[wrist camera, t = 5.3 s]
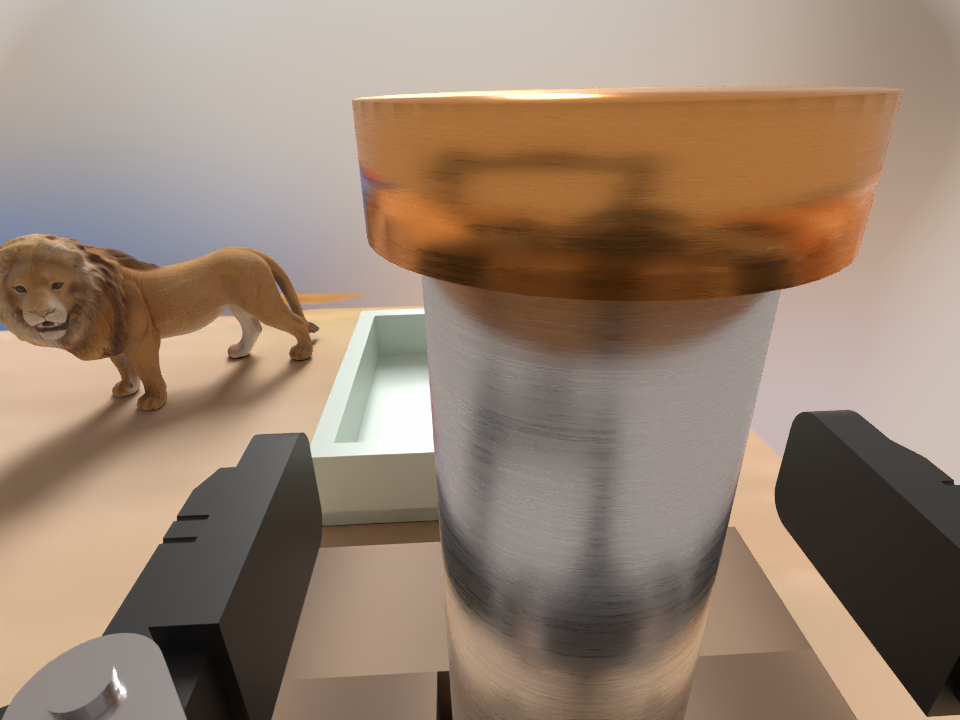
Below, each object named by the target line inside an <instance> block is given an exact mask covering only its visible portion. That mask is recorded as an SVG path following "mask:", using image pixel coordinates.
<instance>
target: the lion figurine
mask: <svg viewBox="0 0 960 720" xmlns="http://www.w3.org/2000/svg"><path fill="white" fill-rule="evenodd" d="M275 280H276V282H277V283H278V285H279V287H280V289H281V291H282V292H283V294H284V296H285V298H286V300H287V302H288V303H289V305H290V308H291V310H292V311H291V310H290V309H289V308H288V307H287V305H286V304H285V303H284V302H283V300H282V298H281V296H280V294H279V292H278V289H277V286H276V282H275ZM227 308H229V309H230V310H231V312H232V313H233V314H234V316H235V317H236V318H237V320H238V321H239V322H240V324H241V326H242V331H243V335H242V339H241V341H240V342H239V343H238V344H235V345H232V346H230V347H229V349H228V355H229V356H230V357H232V358H237V357H242V356H245V355H247V354H249V352H250V351H251V349H252V347H253V345H254V343H255V342H256V340H257V338H258V336H259V334H260V333H261V331H262V327H261V325H260V323H259V321H260V322H262V323H264V324H266V325H268V326H271V327H274V328H277V329H279V330H282V331H285V332H288V333H290V334H292V335H293V336H295V337H296V338H297V340H298V344H297V345H295V346H293V347H292V348H291V350H290V353H289V355H290V357H291V358H293V359H295V360H304V359H307V358H308V357H310V356H311V355H312V351H313V347H312V342H311V338H310V335H309V333H311V332H312V333H315V332H316V331H318V330H319V327H318V326H316V325H315V324H313V323H311V322H307V320H306V319H305V317H304V315H303V311H302V308H301V305H300V303H299V300H298V298H297V295H296V293H295V290H294V288H293V286H292V284H291V282H290V280H289V278H288V276H287V275H286V274H285V272H284V271H283V269H282V268H281V267H280V266H279V265H278V263H277V262H276V261H275V260H273V259H272V258H271V257H269V256H268V255H266V254H264V253H262V252H260V251H258V250H255V249H251V248H247V247H228V248H223V249H219V250H217V251H214V252H212V253H209V254H207V255H204V256H201V257H199V258H196V259H193V260H190V261H186V262H182V263H179V264H175V265H169V266H162V267H158V266H157V265H154V264H148V263H145V262H142V261H138V260H137V259H135V258H133V257H132V256H130V255H128V254H125V253H123V252H121V251H119V250H116V249H111V248H99V247H96V246H86V245H82V244H81V243H79V242H78V241H76V240H74V239H67V238H62V237H58V236H55V235H50V234H49V235H48V234H31V235H25V236H20V237H18V238H14V239H12V240H8V241H6V242H5V243H4V244H2V245H1V246H0V321H1V322H2V323H3V324H4V325H5V327H6V328H7V329H8V330H9V331H10V332H12V333H13V334H15V335H16V336H17V337H18V338H19V339H20V340H22V341H27V342H29V343H31V344H33V345H37V346H43V347H56V348H60V349H64V350H67V351H68V352H70V353H72V354H73V355H74V356H76V357H77V358H79V359H81V360H85V361H90V360H97V359H103V358H107V357H110V359H111V360H112V362H113V363H114V365H115V366H116V367H117V369H118V371H119V372H120V375H121V378H122V381H120V382H119V383H117V384H116V385H115V386H114V387H113V389H112V392H113V394H114V395H115V396H117V397H124V396H127V395H130V394H133V393H135V392H136V391H137V390H138V388H139V387H140V379H141V381H142V383H143V385H144V389H145V394H144V395H143V396H141V397H140V398H139V399H138V403H137V406H138V408H139V409H140V410H145V411H149V410H157V409H159V408H160V407H161V406H162V405H163V404H164V403H165V401H166V399H167V392H166V388H167V387H166V383H165V381H164V379H163V378H162V375H161V371H160V366H159V348H160V339H163V338H168V337H173V336H178V335H183V334H188V333H191V332H195V331H197V330H199V329H201V328H203V327H205V326H206V325H208V324H210V323H211V322H213V321H214V320H215V319H216V318H217V317H218V316H219V315H220V314H221V313H223V312H224V311H225V310H226V309H227ZM258 320H259V321H258Z"/></svg>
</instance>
